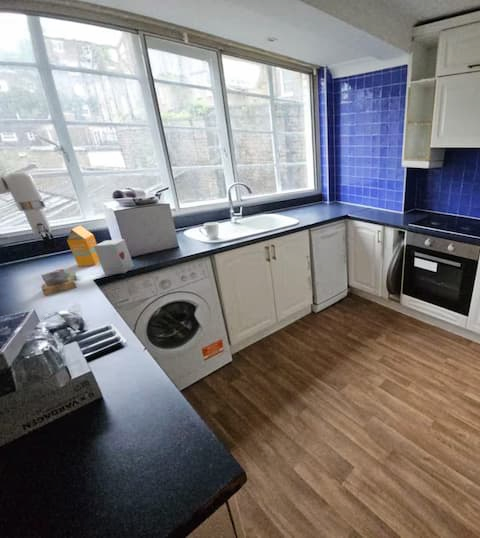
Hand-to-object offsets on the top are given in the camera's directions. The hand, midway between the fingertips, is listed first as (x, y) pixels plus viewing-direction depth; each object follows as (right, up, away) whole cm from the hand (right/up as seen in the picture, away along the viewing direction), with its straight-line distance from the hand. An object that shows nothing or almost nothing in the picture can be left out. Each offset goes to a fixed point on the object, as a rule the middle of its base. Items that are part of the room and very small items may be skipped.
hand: (51, 246), depth 123 cm
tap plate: (-2, -18, +6) cm, 19 cm away
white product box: (+10, -11, +23) cm, 28 cm away
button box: (-9, -15, +13) cm, 22 cm away
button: (-9, -12, +12) cm, 19 cm away
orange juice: (-15, -7, +35) cm, 38 cm away
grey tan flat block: (-2, -16, +5) cm, 16 cm away
